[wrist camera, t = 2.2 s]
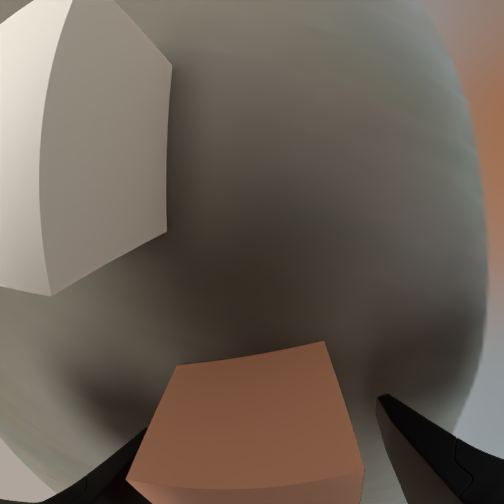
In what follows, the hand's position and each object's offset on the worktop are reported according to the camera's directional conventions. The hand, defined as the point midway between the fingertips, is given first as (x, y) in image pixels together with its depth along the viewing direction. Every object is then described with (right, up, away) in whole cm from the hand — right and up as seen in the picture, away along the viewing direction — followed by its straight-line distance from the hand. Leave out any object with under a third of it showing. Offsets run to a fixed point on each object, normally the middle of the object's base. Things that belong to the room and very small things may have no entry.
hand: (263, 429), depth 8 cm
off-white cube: (-5, +9, -1) cm, 11 cm away
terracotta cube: (0, 0, +1) cm, 1 cm away
